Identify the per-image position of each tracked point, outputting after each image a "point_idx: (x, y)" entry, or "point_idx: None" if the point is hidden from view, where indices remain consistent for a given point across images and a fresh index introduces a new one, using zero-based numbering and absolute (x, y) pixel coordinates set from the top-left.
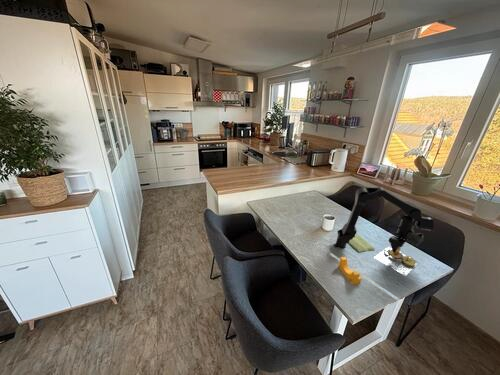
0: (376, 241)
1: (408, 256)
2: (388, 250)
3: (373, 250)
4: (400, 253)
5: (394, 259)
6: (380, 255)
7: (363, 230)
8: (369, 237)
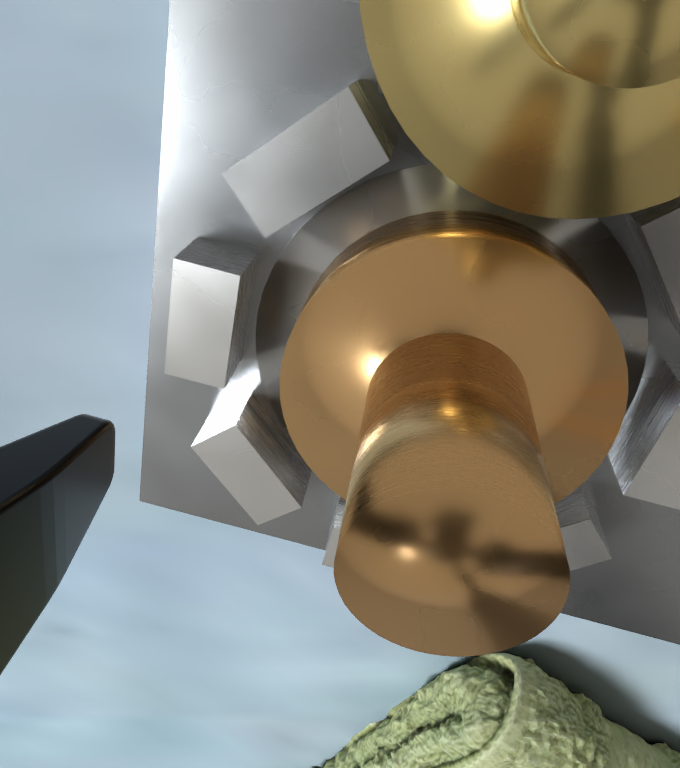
0: (125, 625)
1: (571, 35)
2: (309, 487)
3: (550, 695)
4: (329, 289)
5: (642, 348)
6: (659, 599)
7: (3, 758)
8: (110, 701)
